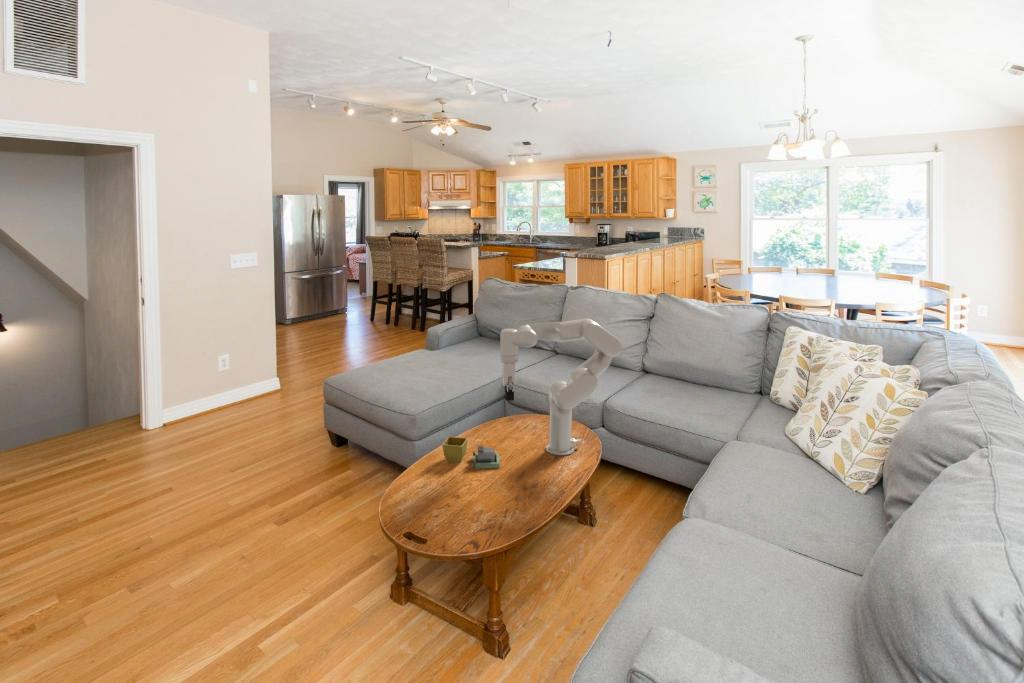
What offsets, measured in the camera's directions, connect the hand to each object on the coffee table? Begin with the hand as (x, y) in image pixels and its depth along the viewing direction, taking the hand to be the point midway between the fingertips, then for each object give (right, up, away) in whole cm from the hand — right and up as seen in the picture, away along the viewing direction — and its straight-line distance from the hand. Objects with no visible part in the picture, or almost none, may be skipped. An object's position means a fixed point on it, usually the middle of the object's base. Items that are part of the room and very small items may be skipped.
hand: (509, 396), depth 244 cm
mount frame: (-10, -28, -3) cm, 30 cm away
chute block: (-10, -28, -3) cm, 30 cm away
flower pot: (-23, -28, -1) cm, 36 cm away
